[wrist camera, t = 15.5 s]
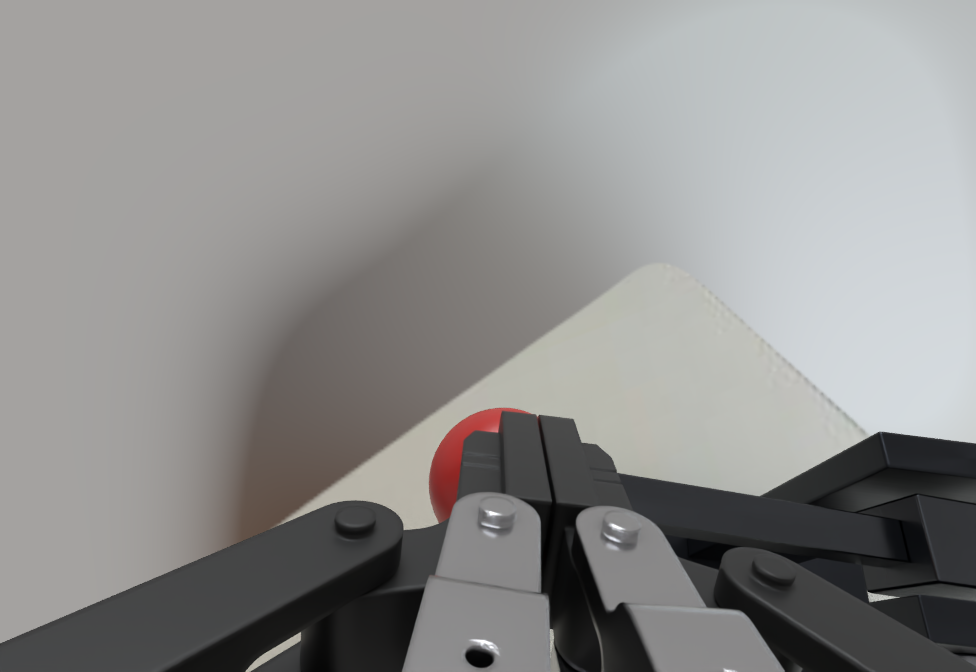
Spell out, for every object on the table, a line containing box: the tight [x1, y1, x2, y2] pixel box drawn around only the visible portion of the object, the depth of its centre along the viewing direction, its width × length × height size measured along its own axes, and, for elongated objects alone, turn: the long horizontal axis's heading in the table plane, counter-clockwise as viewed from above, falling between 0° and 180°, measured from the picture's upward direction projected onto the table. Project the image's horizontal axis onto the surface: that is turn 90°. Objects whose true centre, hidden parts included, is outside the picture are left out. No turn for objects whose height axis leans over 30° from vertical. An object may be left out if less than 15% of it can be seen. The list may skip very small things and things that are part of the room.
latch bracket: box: [664, 432, 976, 672], centre depth 21 cm, size 12×9×15 cm
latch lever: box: [429, 408, 976, 601], centre depth 15 cm, size 15×4×4 cm, turn 84°
